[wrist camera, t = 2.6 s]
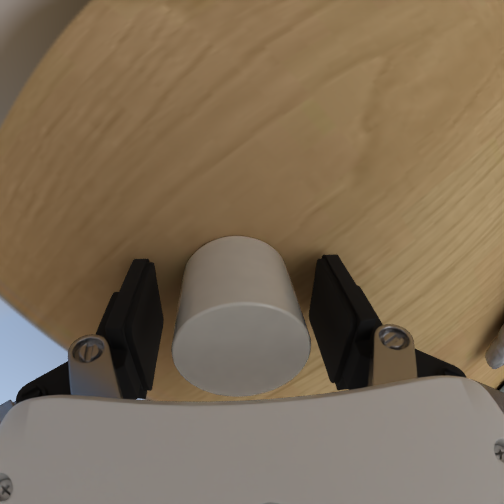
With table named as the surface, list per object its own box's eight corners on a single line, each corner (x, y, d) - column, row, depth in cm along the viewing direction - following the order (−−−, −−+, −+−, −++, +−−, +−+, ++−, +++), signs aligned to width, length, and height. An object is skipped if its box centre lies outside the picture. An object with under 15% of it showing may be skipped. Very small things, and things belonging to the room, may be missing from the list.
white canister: (178, 236, 11) (160, 304, 8) (292, 234, 12) (321, 299, 8) (188, 323, 13) (181, 398, 10) (284, 320, 14) (301, 392, 10)
